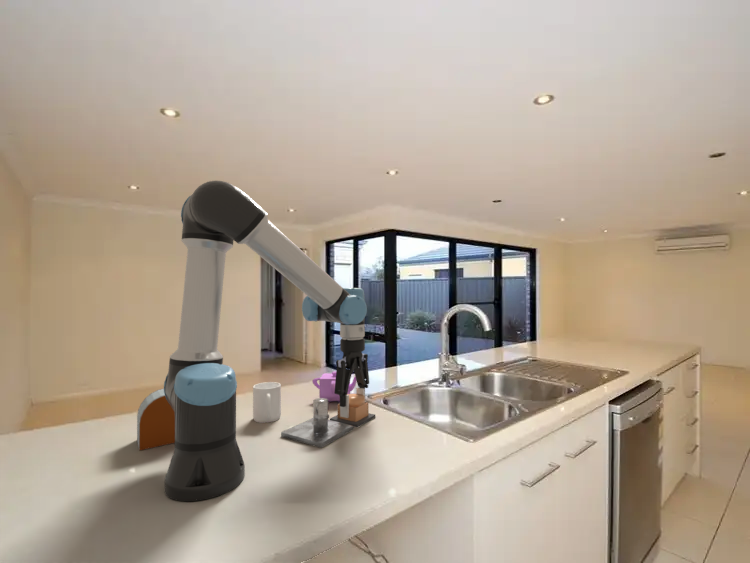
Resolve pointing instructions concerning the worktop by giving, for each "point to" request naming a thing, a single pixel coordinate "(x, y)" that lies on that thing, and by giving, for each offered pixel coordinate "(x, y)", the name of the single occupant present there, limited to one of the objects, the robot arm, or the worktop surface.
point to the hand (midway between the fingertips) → (352, 412)
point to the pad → (355, 424)
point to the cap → (356, 408)
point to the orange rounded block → (155, 421)
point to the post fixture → (318, 427)
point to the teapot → (330, 386)
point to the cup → (266, 402)
